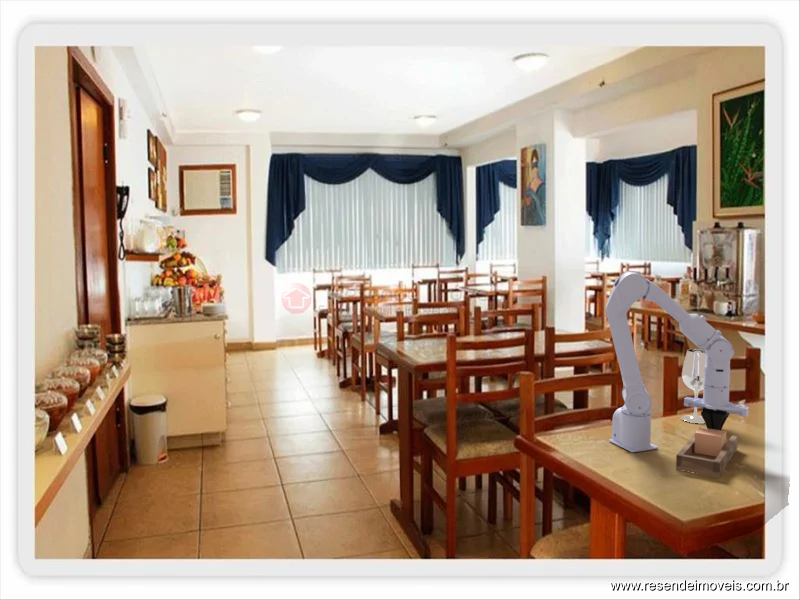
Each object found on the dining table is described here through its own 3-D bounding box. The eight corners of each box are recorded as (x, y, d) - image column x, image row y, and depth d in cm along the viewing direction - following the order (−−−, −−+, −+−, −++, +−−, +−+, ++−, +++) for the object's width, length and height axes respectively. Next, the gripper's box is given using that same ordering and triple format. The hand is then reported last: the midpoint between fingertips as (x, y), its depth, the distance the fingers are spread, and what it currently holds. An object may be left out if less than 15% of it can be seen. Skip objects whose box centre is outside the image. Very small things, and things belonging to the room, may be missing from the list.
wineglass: (703, 415, 195) (706, 347, 193) (715, 424, 187) (718, 353, 185) (676, 416, 195) (678, 348, 193) (686, 424, 188) (689, 353, 185)
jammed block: (698, 446, 166) (699, 427, 165) (725, 451, 162) (726, 431, 162) (694, 452, 162) (695, 432, 161) (721, 457, 158) (722, 436, 158)
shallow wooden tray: (698, 443, 172) (698, 429, 171) (736, 449, 167) (737, 436, 166) (675, 469, 154) (676, 455, 154) (718, 478, 149) (719, 462, 149)
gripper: (679, 383, 166) (678, 437, 168) (743, 393, 156) (740, 450, 158) (690, 378, 171) (689, 430, 173) (752, 387, 161) (750, 442, 163)
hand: (714, 439), depth 166 cm, fingers closed
